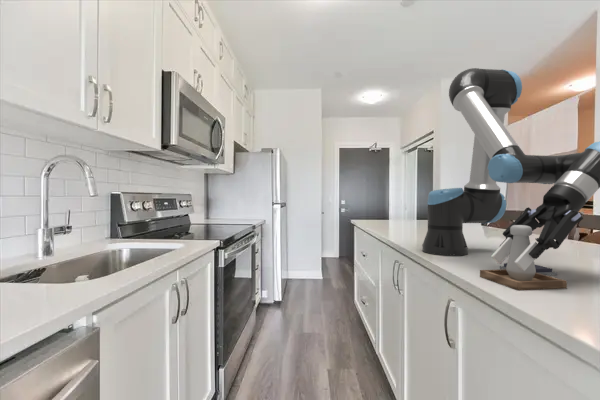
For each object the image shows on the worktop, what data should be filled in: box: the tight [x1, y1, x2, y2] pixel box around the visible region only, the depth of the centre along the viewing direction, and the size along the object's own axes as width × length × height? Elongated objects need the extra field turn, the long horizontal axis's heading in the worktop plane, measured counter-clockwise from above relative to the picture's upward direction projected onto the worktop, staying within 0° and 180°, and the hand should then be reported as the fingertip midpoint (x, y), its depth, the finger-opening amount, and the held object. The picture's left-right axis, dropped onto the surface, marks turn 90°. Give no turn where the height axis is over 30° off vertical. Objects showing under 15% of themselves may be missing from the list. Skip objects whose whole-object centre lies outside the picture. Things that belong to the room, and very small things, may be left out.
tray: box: [479, 268, 568, 291], centre depth 77 cm, size 12×12×2 cm
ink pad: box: [499, 262, 558, 276], centre depth 88 cm, size 9×9×2 cm
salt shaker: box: [506, 225, 536, 281], centre depth 77 cm, size 6×6×13 cm
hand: (507, 262), depth 76 cm, fingers open, 7 cm apart
